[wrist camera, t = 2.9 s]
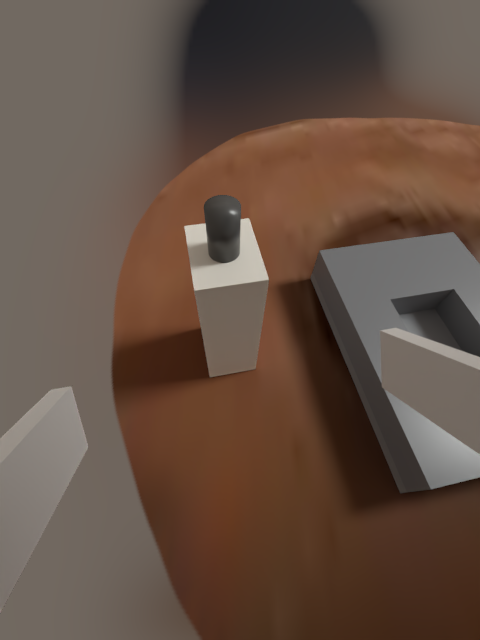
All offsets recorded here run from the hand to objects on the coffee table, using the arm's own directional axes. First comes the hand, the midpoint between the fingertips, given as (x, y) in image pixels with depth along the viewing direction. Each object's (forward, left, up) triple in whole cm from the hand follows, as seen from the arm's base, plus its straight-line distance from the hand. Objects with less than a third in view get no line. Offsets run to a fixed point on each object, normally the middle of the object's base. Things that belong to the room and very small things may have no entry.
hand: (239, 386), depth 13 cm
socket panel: (-17, +6, -12) cm, 22 cm away
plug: (-5, -6, -12) cm, 15 cm away
